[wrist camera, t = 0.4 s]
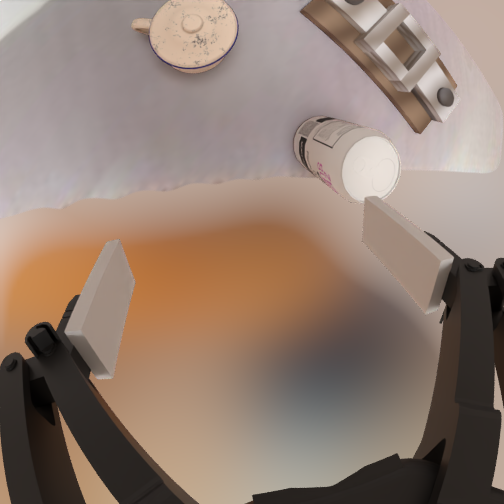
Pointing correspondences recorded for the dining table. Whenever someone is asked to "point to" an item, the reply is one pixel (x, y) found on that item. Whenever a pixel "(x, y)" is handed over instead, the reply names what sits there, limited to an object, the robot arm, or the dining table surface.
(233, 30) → the teacup with lid
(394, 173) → the supplement can
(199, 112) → the dining table surface
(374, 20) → the pin insertion fixture
